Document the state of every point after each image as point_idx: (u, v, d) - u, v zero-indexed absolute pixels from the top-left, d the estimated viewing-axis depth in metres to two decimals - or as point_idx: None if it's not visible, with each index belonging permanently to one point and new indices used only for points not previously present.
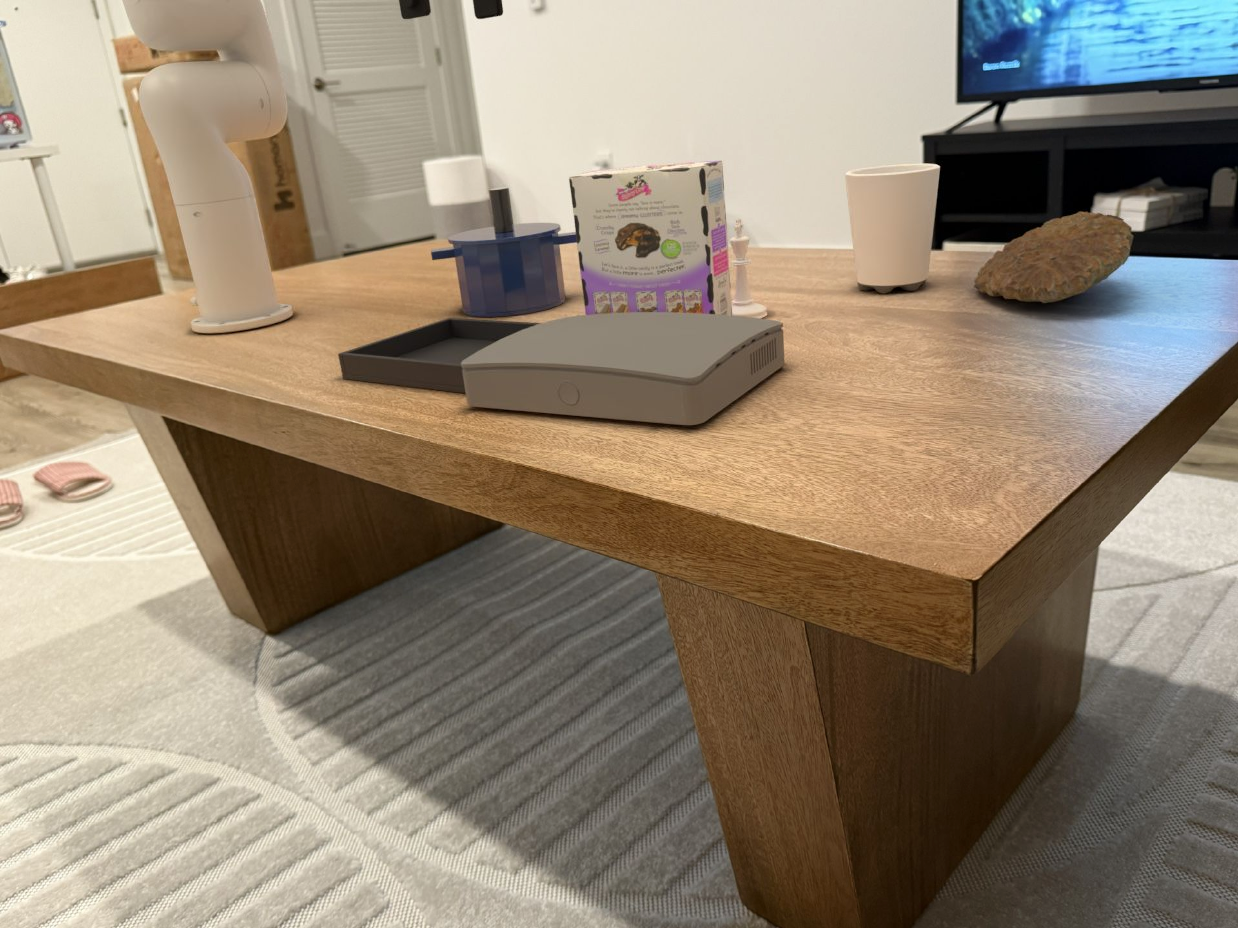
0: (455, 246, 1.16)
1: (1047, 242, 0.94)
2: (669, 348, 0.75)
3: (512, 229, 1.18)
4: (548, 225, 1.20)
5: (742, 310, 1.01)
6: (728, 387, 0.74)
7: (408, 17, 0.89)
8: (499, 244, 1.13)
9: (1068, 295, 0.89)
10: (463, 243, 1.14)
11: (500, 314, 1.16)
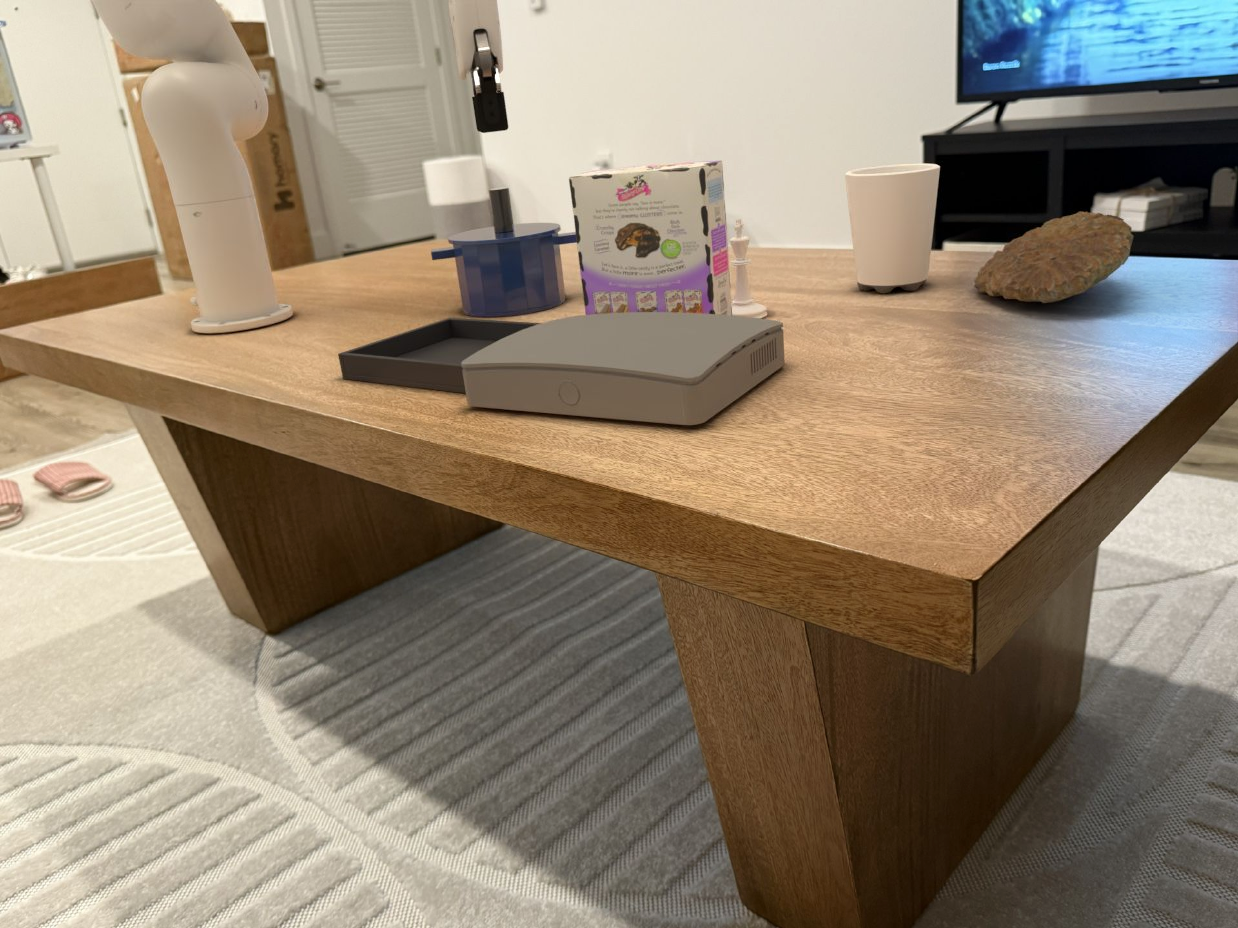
0: (455, 246, 1.16)
1: (1047, 242, 0.94)
2: (669, 349, 0.75)
3: (512, 229, 1.18)
4: (548, 225, 1.20)
5: (742, 310, 1.01)
6: (728, 387, 0.74)
7: (487, 131, 1.09)
8: (499, 244, 1.13)
9: (1068, 295, 0.89)
10: (463, 243, 1.14)
11: (500, 314, 1.16)
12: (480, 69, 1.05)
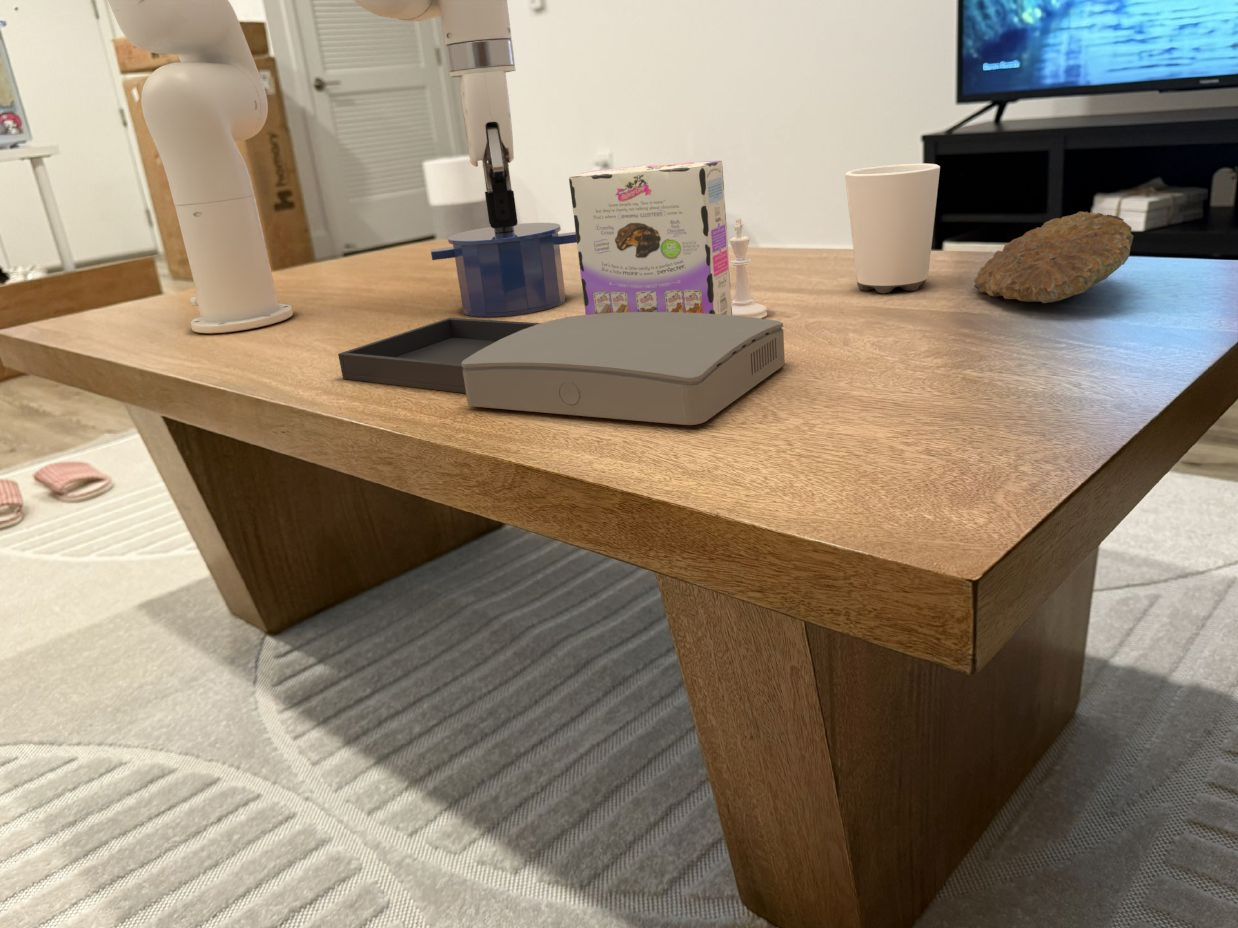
0: (455, 246, 1.16)
1: (1047, 242, 0.94)
2: (670, 348, 0.75)
3: (512, 229, 1.18)
4: (548, 225, 1.20)
5: (742, 310, 1.01)
6: (729, 387, 0.74)
7: (498, 227, 1.16)
8: (499, 244, 1.13)
9: (1068, 295, 0.89)
10: (463, 243, 1.14)
11: (500, 314, 1.16)
12: (492, 172, 1.12)
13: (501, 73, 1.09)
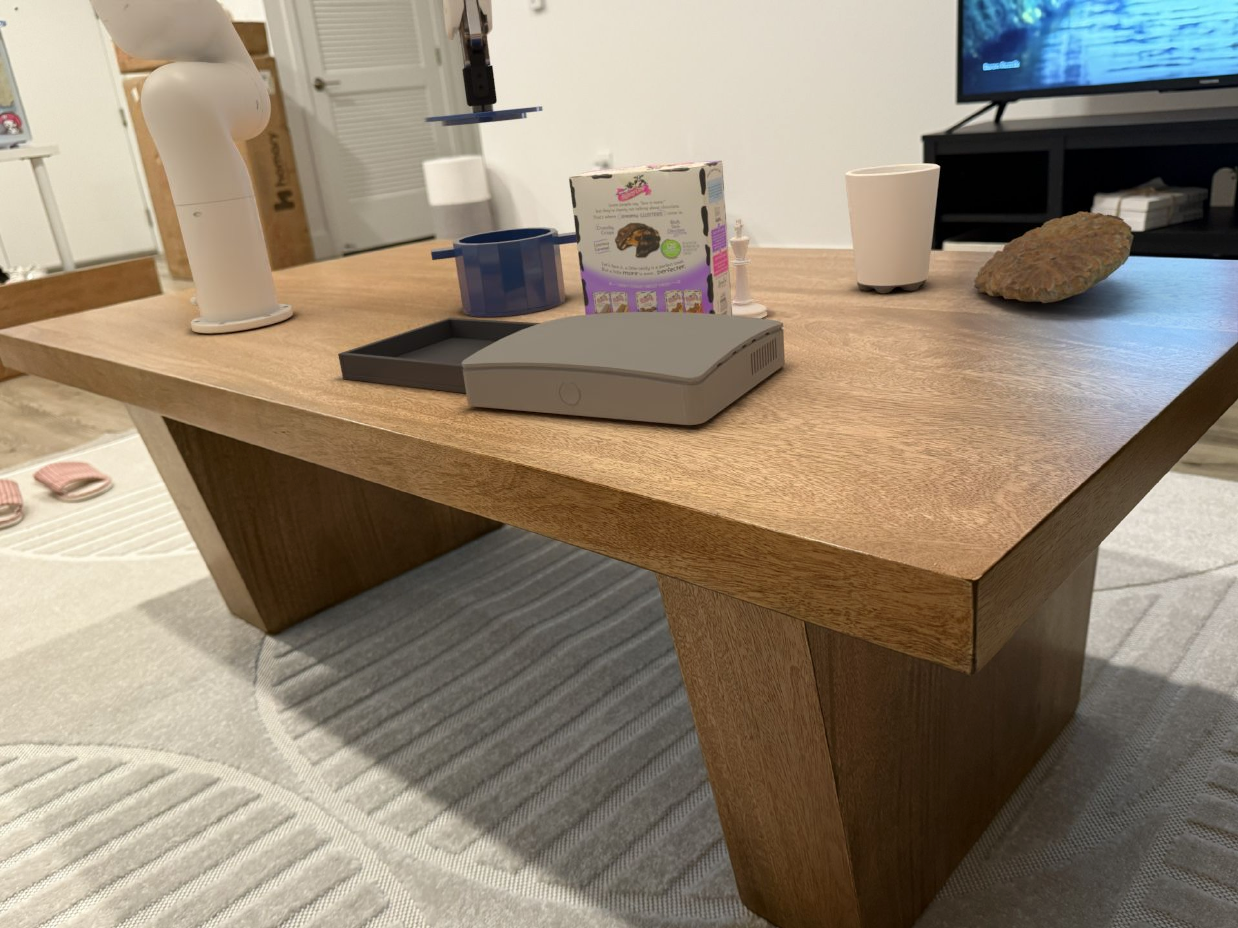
0: (455, 246, 1.16)
1: (1047, 242, 0.94)
2: (670, 348, 0.75)
3: (491, 109, 1.11)
4: None
5: (742, 310, 1.01)
6: (729, 387, 0.74)
7: (476, 104, 1.10)
8: (499, 244, 1.13)
9: (1068, 295, 0.89)
10: (439, 119, 1.07)
11: (500, 314, 1.16)
12: (469, 42, 1.05)
13: None
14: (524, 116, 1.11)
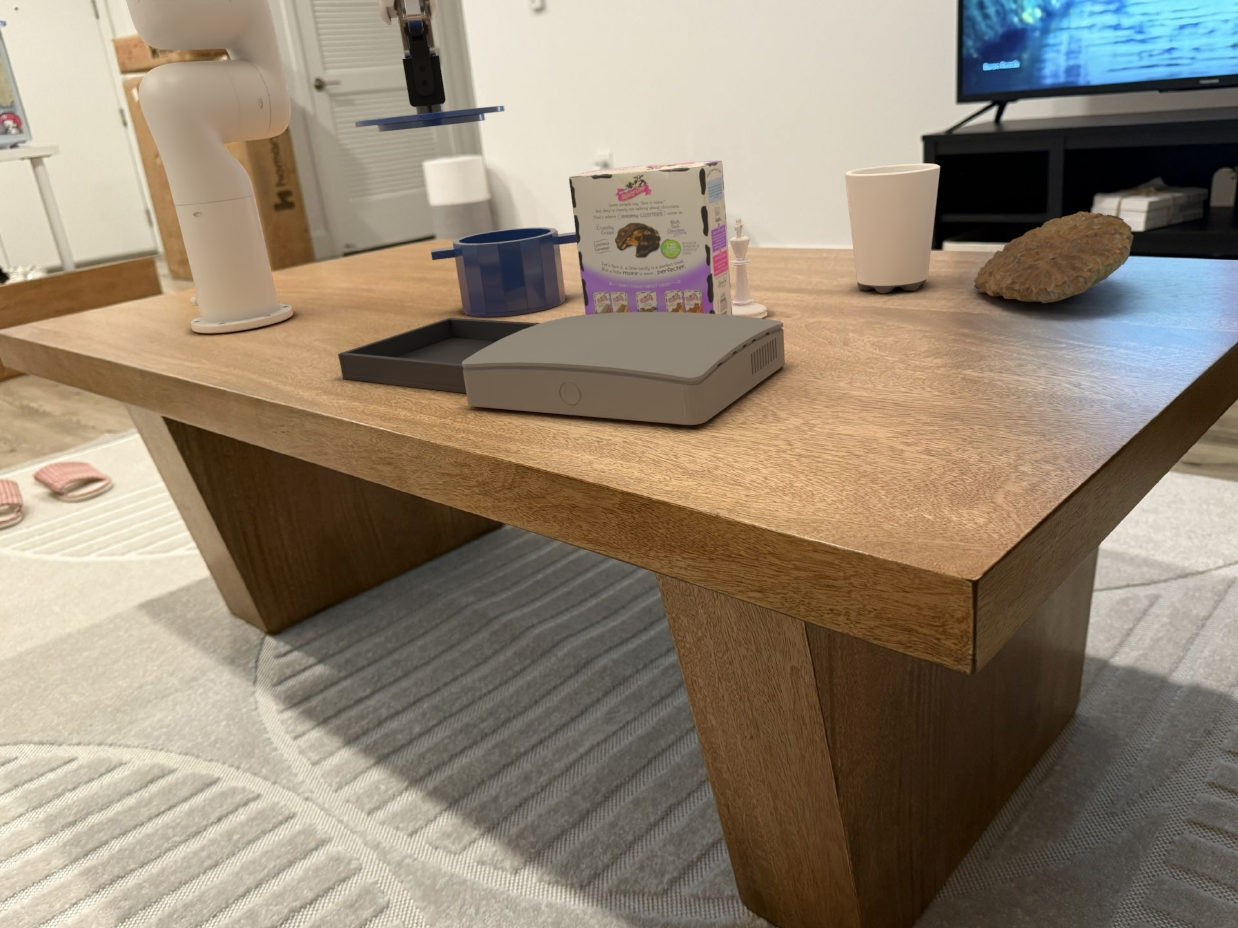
0: (455, 246, 1.16)
1: (1047, 242, 0.94)
2: (670, 348, 0.75)
3: (440, 110, 0.89)
4: None
5: (742, 310, 1.01)
6: (729, 387, 0.74)
7: (419, 105, 0.88)
8: (499, 244, 1.13)
9: (1068, 295, 0.89)
10: (371, 123, 0.85)
11: (500, 314, 1.16)
12: (407, 25, 0.83)
13: None
14: (481, 118, 0.89)
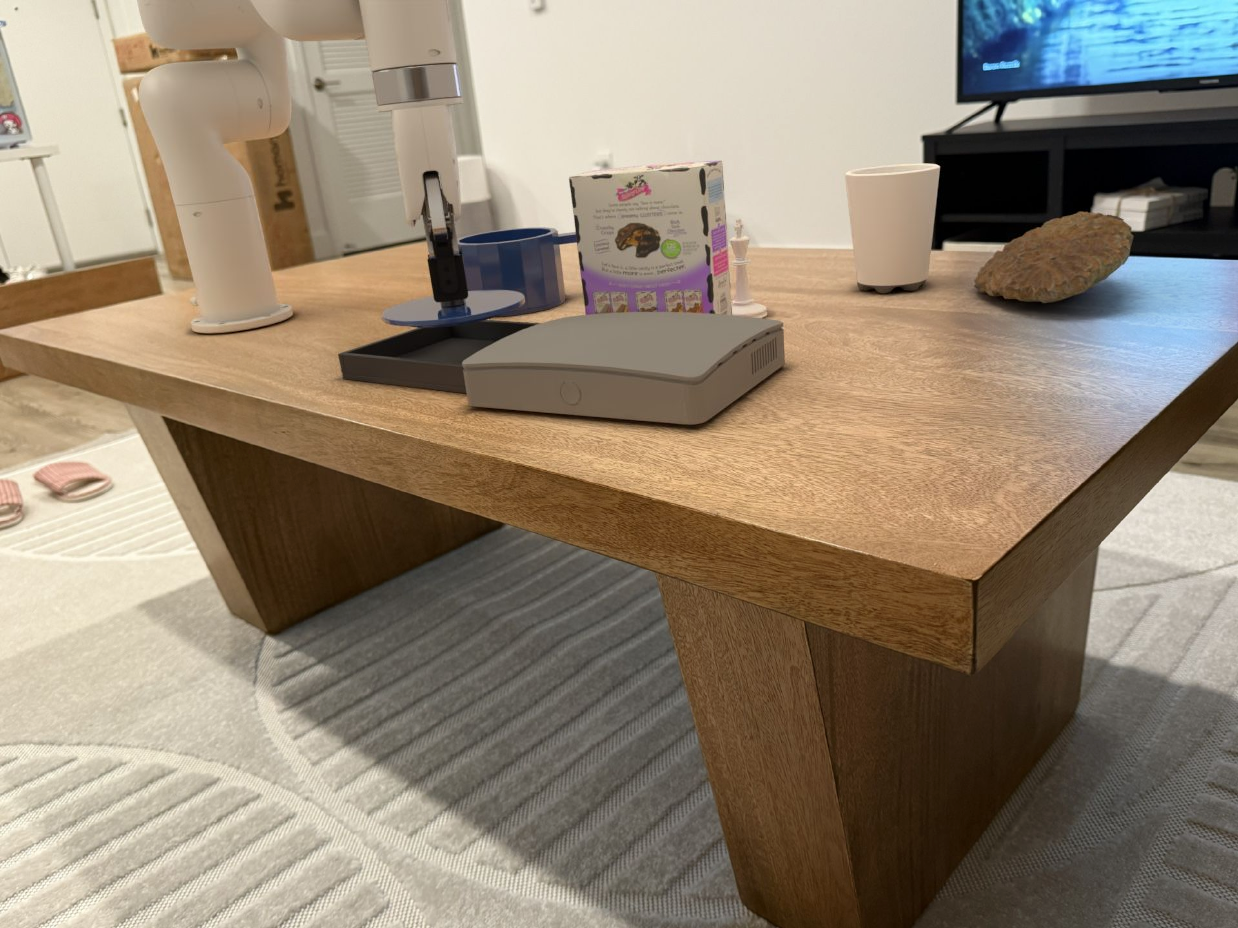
0: None
1: (1047, 242, 0.94)
2: (670, 348, 0.75)
3: (463, 302, 0.93)
4: (509, 295, 0.95)
5: (742, 310, 1.01)
6: (730, 387, 0.74)
7: (443, 300, 0.92)
8: (499, 244, 1.13)
9: (1068, 295, 0.89)
10: (398, 324, 0.89)
11: None
12: (433, 234, 0.87)
13: (442, 108, 0.84)
14: None
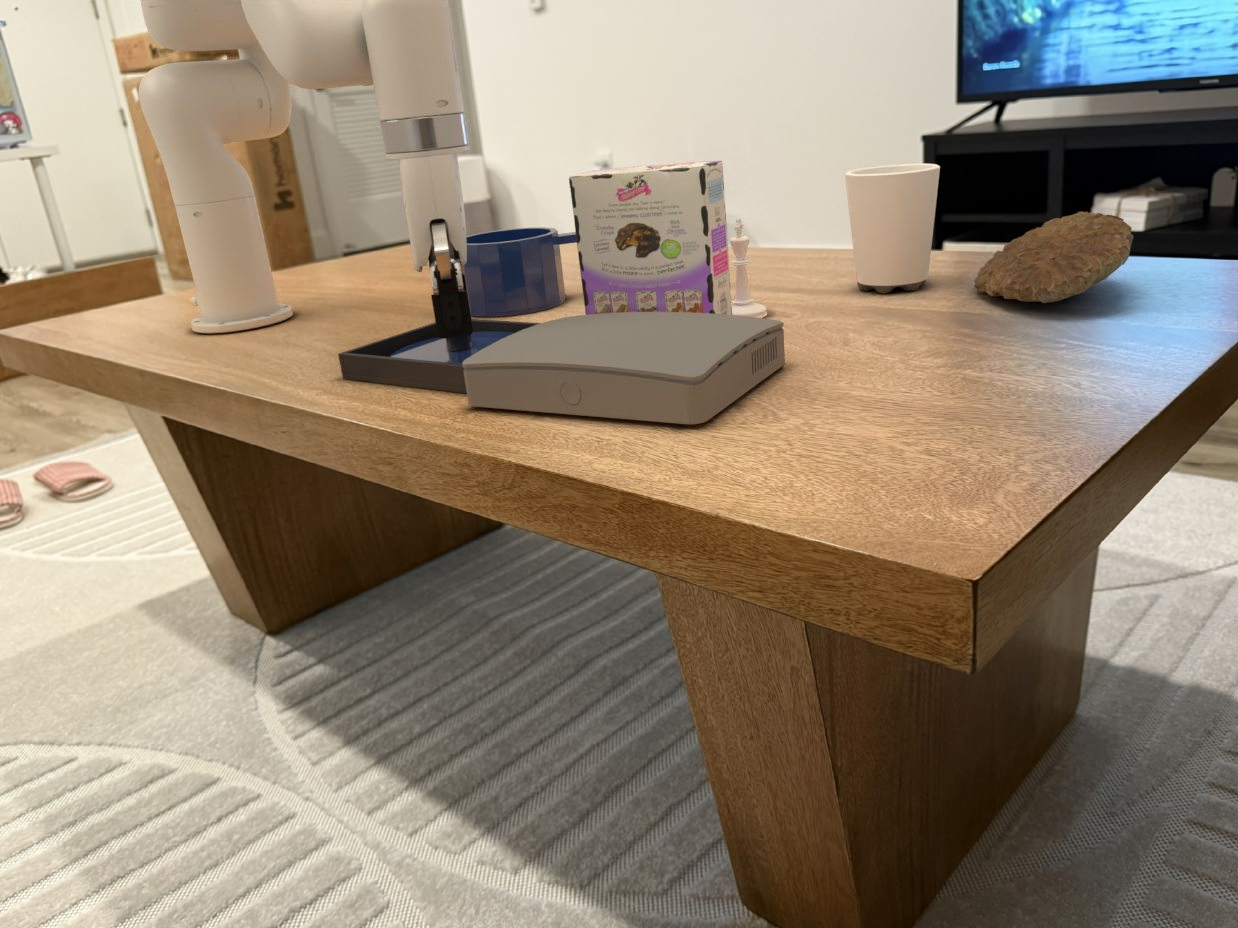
0: None
1: (1047, 242, 0.94)
2: (671, 348, 0.75)
3: (469, 346, 0.95)
4: None
5: (742, 310, 1.01)
6: (730, 387, 0.74)
7: (447, 336, 0.90)
8: (499, 244, 1.13)
9: (1068, 295, 0.89)
10: None
11: (500, 314, 1.16)
12: (437, 271, 0.85)
13: (449, 157, 0.86)
14: None
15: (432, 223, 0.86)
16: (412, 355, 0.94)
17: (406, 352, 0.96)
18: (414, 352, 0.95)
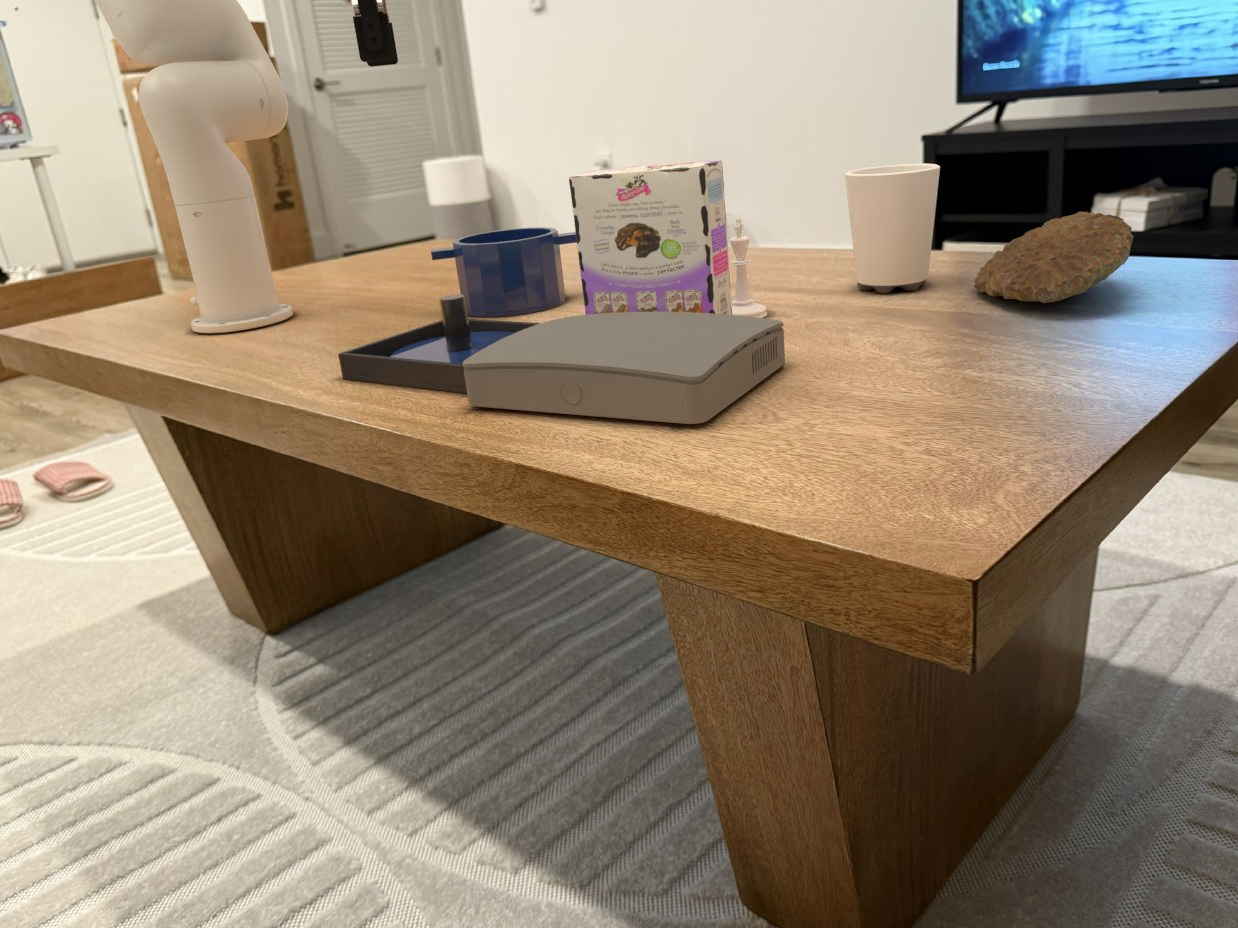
0: (455, 246, 1.16)
1: (1047, 242, 0.94)
2: (671, 348, 0.75)
3: (469, 346, 0.95)
4: None
5: (742, 310, 1.01)
6: (730, 386, 0.74)
7: (369, 60, 0.94)
8: (499, 244, 1.13)
9: (1068, 295, 0.89)
10: None
11: (500, 314, 1.16)
12: None
13: None
14: None
15: None
16: (412, 355, 0.94)
17: (406, 352, 0.96)
18: (414, 352, 0.95)
